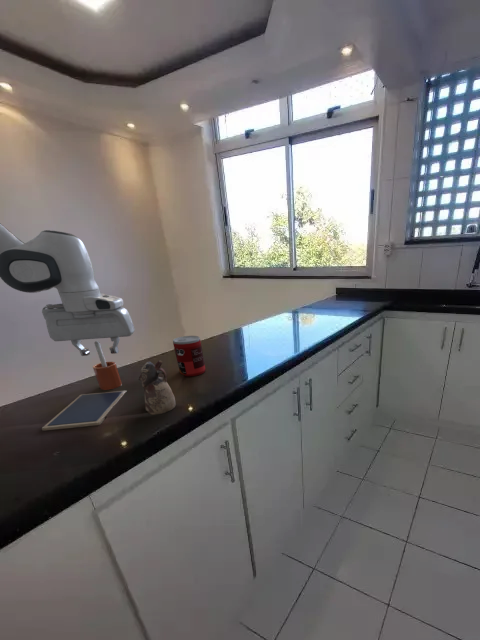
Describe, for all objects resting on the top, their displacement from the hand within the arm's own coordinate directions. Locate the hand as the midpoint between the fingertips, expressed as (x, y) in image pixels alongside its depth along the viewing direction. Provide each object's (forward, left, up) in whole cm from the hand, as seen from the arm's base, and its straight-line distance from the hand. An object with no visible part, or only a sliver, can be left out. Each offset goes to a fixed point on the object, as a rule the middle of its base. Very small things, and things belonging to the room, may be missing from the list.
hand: (100, 354), depth 86 cm
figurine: (+18, -17, -10) cm, 27 cm away
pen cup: (0, 0, -10) cm, 10 cm away
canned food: (+22, +7, -10) cm, 25 cm away
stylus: (0, 0, -10) cm, 10 cm away
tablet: (0, -14, -10) cm, 17 cm away
